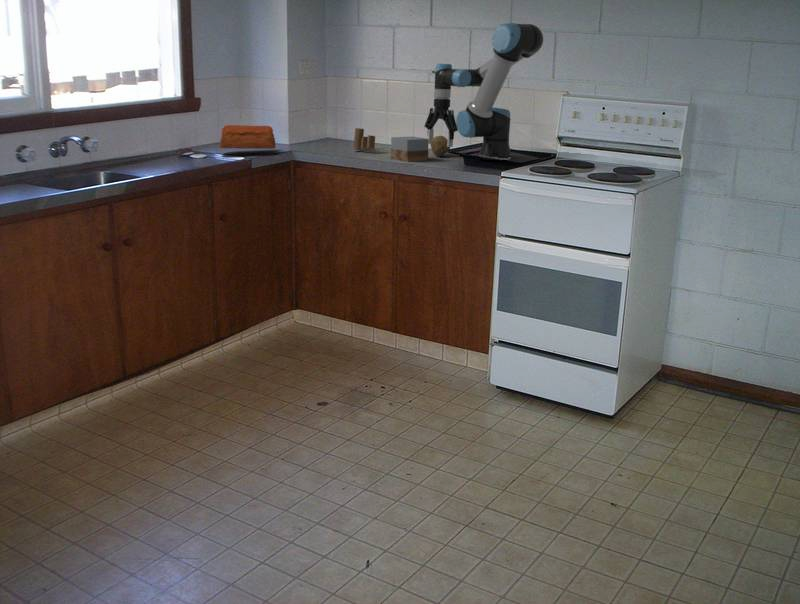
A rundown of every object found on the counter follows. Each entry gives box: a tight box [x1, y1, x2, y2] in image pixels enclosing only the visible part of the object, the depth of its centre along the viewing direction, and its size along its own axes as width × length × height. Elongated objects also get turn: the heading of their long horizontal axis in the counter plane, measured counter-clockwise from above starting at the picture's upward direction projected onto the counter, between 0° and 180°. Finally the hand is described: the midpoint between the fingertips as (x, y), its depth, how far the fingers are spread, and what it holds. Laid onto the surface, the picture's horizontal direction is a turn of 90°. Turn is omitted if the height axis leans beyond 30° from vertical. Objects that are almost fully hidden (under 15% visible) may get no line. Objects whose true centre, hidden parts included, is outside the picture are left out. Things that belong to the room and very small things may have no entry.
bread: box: [219, 124, 277, 150], centre depth 430 cm, size 16×27×11 cm, turn 98°
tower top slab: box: [390, 136, 429, 151], centre depth 397 cm, size 12×12×5 cm
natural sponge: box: [430, 135, 451, 158], centre depth 409 cm, size 9×9×10 cm
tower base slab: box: [390, 148, 429, 163], centre depth 398 cm, size 12×12×5 cm
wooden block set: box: [353, 127, 376, 151], centre depth 429 cm, size 18×9×10 cm, turn 20°
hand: (440, 145), depth 409 cm, fingers open, 13 cm apart
